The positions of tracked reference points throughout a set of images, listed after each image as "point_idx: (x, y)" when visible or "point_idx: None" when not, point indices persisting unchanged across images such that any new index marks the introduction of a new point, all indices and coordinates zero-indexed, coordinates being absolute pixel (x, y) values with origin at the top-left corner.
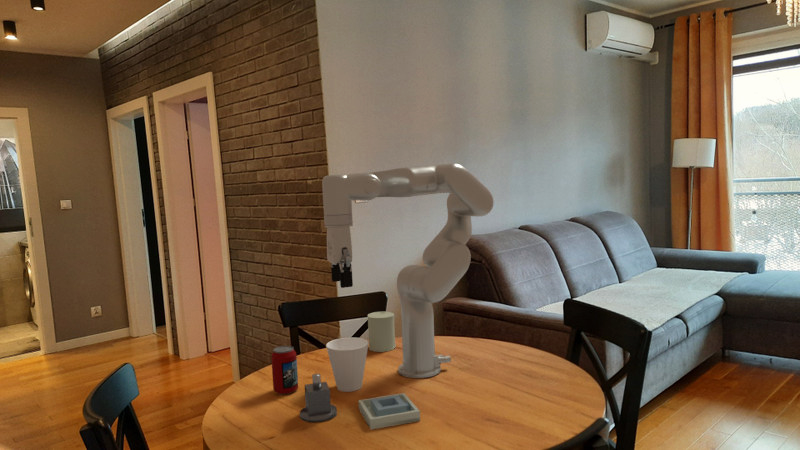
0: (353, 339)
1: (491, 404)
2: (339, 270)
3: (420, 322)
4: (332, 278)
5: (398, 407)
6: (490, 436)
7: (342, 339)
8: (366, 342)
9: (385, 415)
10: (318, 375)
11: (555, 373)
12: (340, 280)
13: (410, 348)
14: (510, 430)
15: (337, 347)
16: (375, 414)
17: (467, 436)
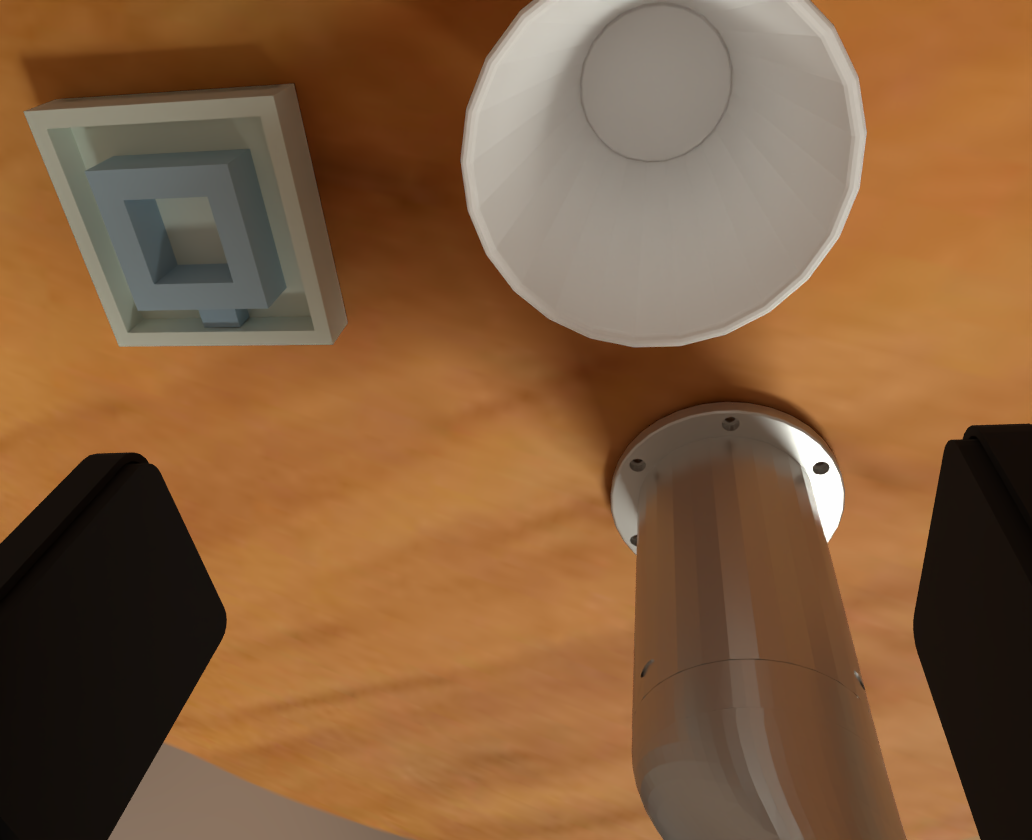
0: (806, 251)
1: (268, 580)
2: (1014, 828)
3: (633, 722)
4: (1004, 479)
5: (126, 271)
6: (22, 484)
7: (846, 153)
8: (656, 330)
9: (72, 194)
10: None
11: (486, 811)
12: (5, 550)
13: (669, 544)
14: None
15: (817, 78)
16: (166, 154)
17: (17, 427)
